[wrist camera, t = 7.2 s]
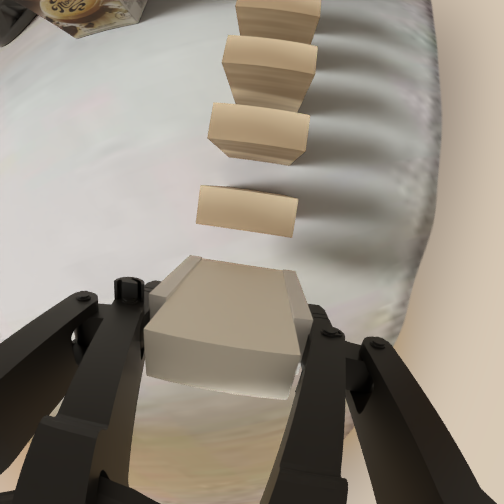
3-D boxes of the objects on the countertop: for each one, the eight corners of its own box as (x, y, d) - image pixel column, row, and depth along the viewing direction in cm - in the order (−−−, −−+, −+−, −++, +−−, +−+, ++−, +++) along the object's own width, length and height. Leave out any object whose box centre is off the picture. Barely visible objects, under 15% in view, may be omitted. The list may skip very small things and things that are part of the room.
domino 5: (202, 258, 17) (143, 329, 8) (282, 270, 17) (300, 355, 8) (199, 288, 17) (146, 375, 8) (277, 300, 17) (287, 399, 8)
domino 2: (240, 86, 20) (228, 35, 11) (298, 94, 20) (317, 46, 11) (236, 107, 21) (221, 62, 12) (295, 115, 21) (315, 74, 12)
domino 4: (224, 186, 22) (200, 185, 13) (284, 195, 22) (298, 199, 13) (221, 210, 23) (195, 223, 14) (280, 218, 23) (291, 237, 14)
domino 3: (232, 134, 21) (213, 102, 12) (292, 142, 21) (310, 115, 12) (228, 157, 22) (207, 138, 13) (288, 165, 22) (305, 151, 13)
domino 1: (248, 46, 19) (240, -13, 10) (303, 53, 19) (321, -4, 10) (244, 63, 20) (235, 6, 11) (301, 71, 20) (319, 16, 11)
